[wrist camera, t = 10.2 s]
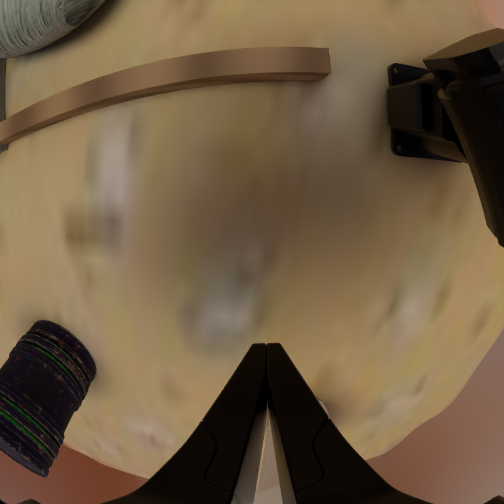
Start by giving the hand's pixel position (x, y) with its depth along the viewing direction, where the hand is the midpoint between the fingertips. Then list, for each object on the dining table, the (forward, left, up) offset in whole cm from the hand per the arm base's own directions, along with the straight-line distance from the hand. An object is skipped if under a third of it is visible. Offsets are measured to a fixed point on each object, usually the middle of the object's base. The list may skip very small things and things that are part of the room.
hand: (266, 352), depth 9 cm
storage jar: (+24, +14, -12) cm, 30 cm away
